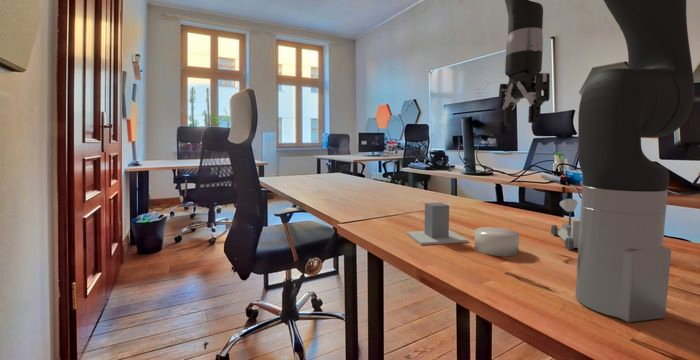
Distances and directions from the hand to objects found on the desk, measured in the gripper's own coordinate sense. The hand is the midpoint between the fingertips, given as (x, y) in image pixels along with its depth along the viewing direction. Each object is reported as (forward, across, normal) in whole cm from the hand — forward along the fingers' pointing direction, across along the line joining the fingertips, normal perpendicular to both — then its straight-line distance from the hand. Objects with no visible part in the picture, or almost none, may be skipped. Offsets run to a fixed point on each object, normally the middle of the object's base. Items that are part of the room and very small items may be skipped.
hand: (520, 124), depth 78 cm
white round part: (+28, +6, -9) cm, 30 cm away
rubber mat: (+28, -6, -18) cm, 34 cm away
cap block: (+28, -6, -18) cm, 33 cm away
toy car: (+29, +4, +16) cm, 33 cm away
